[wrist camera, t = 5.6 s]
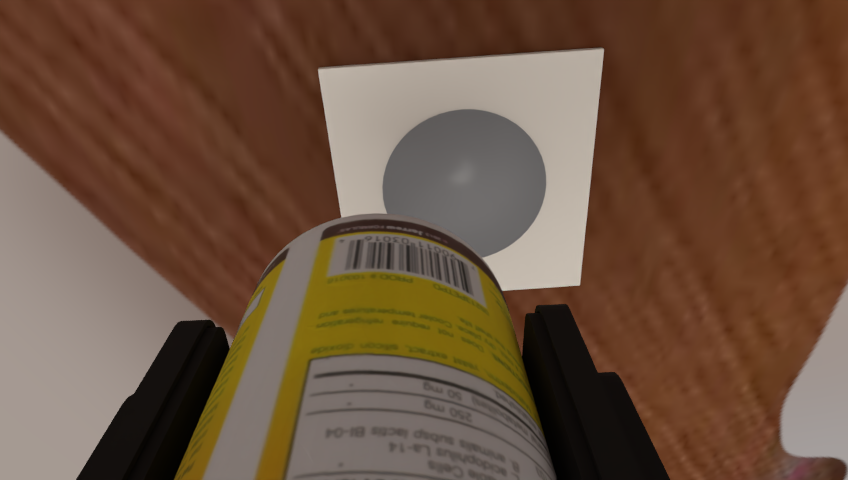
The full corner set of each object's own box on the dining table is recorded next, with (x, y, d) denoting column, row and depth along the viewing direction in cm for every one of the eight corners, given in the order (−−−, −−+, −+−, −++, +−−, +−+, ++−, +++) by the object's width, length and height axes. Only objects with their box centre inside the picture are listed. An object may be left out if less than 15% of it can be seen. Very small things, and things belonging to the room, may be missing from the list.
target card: (601, 47, 24) (604, 49, 24) (577, 281, 31) (580, 286, 30) (319, 67, 24) (317, 69, 24) (355, 296, 31) (354, 301, 30)
